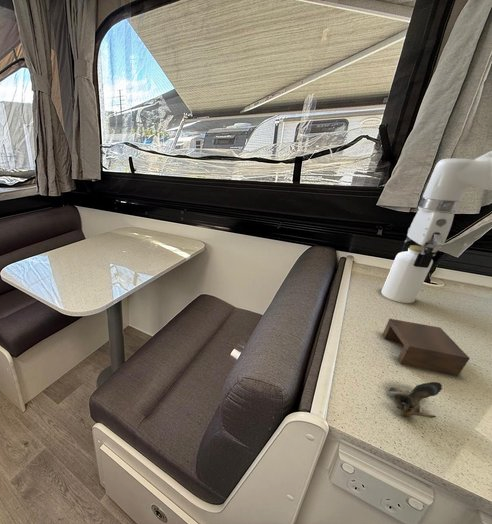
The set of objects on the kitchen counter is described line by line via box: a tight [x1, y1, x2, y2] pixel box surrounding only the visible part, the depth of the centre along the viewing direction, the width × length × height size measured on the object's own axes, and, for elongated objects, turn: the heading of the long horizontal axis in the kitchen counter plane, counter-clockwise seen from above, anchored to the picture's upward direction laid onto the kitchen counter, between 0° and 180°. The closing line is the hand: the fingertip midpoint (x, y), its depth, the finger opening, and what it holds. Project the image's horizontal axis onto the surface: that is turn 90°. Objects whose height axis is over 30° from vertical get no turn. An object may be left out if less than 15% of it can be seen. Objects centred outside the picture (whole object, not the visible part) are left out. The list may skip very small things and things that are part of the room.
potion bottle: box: [380, 244, 434, 304], centre depth 85 cm, size 8×8×18 cm
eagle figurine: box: [386, 381, 443, 419], centre depth 51 cm, size 8×7×9 cm
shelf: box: [381, 318, 471, 378], centre depth 64 cm, size 10×11×6 cm
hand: (413, 260), depth 83 cm, fingers closed on potion bottle, 8 cm apart
